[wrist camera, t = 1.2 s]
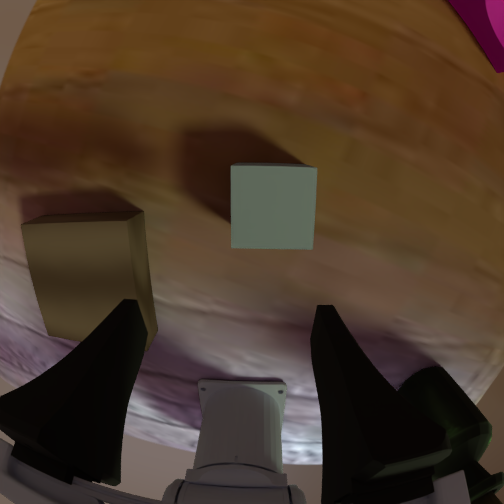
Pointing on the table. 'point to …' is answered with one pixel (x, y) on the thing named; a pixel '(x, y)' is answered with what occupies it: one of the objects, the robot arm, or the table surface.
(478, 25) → the toy block
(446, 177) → the table surface
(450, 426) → the potion bottle
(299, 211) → the gray cube
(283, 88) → the table surface
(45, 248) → the base block
